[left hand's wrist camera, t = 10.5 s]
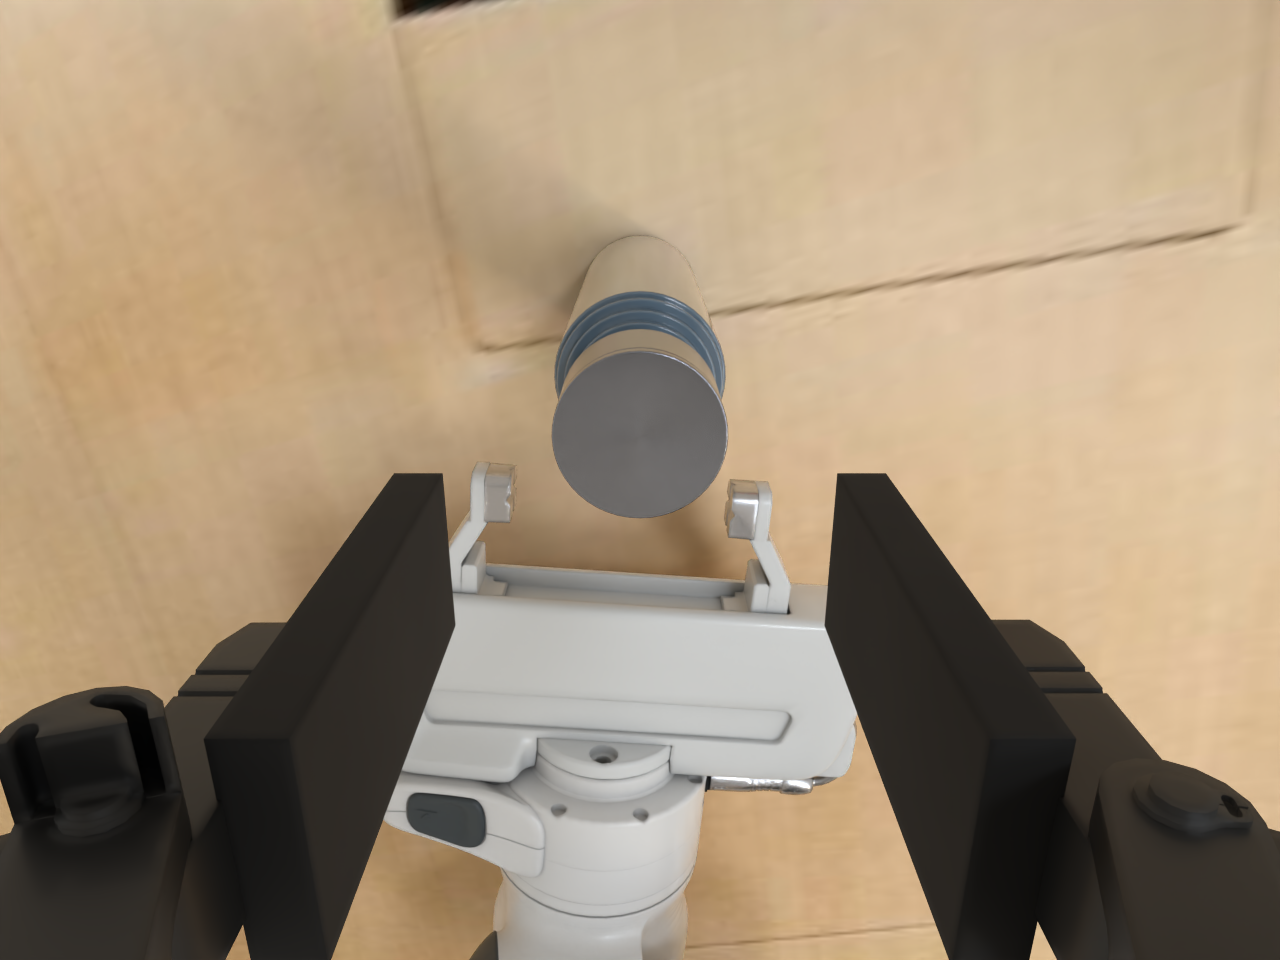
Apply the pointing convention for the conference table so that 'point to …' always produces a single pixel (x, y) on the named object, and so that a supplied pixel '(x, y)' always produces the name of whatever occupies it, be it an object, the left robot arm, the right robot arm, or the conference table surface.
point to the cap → (639, 424)
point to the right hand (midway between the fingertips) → (623, 476)
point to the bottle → (639, 303)
